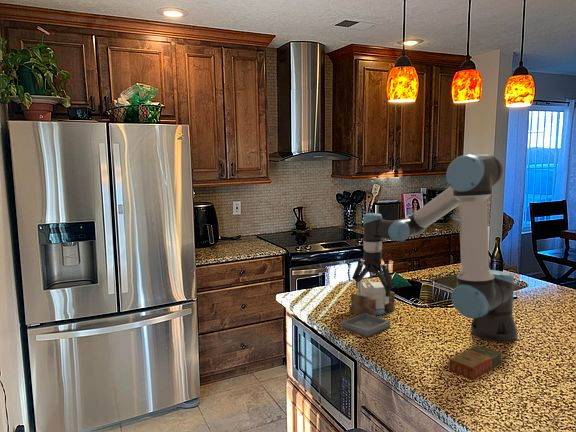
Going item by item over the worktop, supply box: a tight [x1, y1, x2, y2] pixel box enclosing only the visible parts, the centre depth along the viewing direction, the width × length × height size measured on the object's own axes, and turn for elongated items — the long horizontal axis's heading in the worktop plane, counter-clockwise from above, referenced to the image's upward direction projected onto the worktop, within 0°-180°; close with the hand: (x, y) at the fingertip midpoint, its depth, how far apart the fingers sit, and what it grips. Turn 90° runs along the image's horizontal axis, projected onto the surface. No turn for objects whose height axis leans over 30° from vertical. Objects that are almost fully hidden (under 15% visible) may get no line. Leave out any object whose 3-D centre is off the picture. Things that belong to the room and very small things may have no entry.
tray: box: [341, 313, 391, 338], centre depth 164 cm, size 13×14×2 cm
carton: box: [448, 344, 503, 382], centre depth 131 cm, size 8×16×4 cm, turn 127°
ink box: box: [362, 279, 386, 316], centre depth 180 cm, size 9×8×13 cm
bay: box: [348, 290, 396, 317], centre depth 181 cm, size 13×14×8 cm
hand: (372, 299), depth 180 cm, fingers open, 13 cm apart
